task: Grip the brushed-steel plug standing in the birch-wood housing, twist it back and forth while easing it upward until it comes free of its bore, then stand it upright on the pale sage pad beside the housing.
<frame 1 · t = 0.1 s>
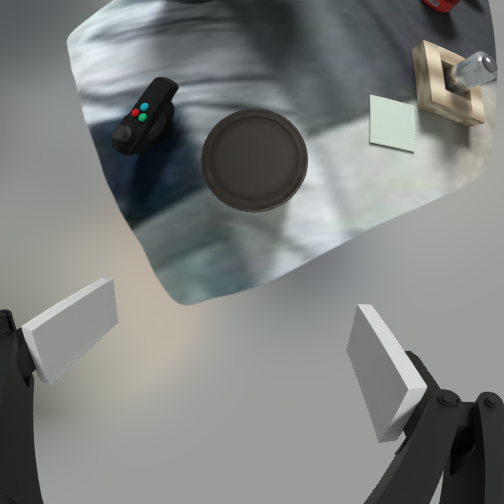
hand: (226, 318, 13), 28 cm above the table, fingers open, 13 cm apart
housing: (442, 87, 31), on the table
controller: (163, 124, 38), on the table
canned food: (432, 1, 26), on the table
pad: (392, 123, 35), on the table
coffee can: (261, 169, 39), on the table
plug: (442, 87, 31), resting in housing
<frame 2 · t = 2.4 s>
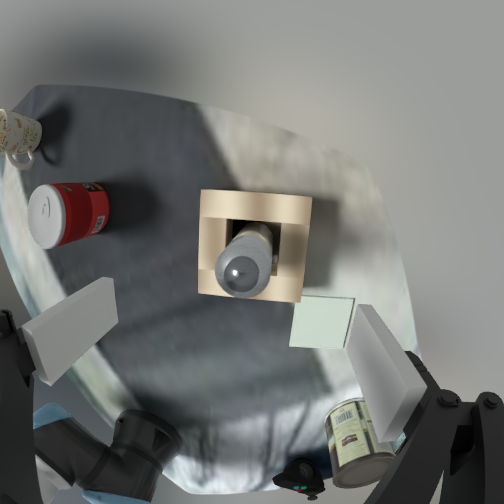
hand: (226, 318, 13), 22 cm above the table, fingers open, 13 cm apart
housing: (255, 239, 35), on the table
mug: (36, 144, 34), on the table
controller: (299, 460, 45), on the table
canned food: (93, 208, 36), on the table
pad: (320, 322, 37), on the table
coffee can: (351, 415, 41), on the table
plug: (255, 239, 35), resting in housing
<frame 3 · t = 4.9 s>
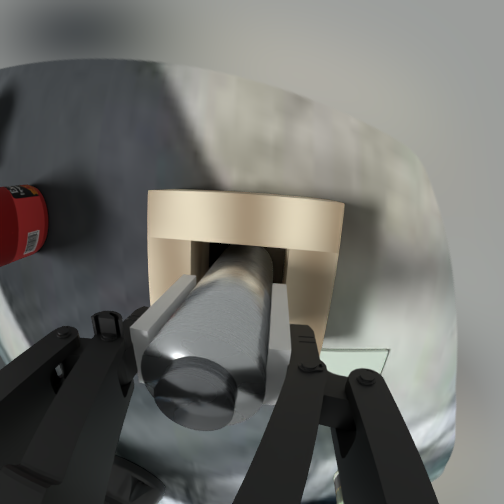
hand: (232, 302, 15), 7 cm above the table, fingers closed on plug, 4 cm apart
housing: (245, 268, 22), on the table
canned food: (32, 218, 23), on the table
pad: (339, 381, 24), on the table
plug: (245, 268, 22), resting in housing, touching gripper
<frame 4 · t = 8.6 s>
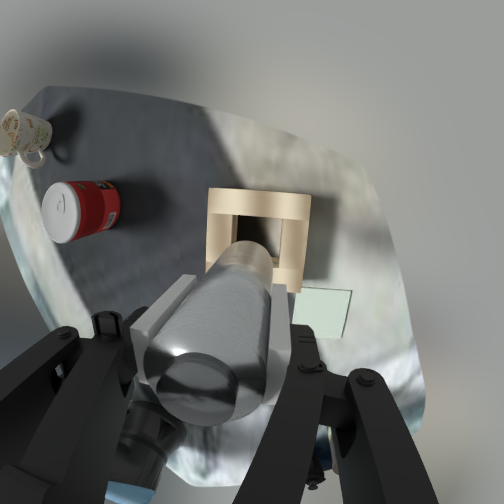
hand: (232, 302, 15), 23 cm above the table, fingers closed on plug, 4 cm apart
housing: (258, 234, 37), on the table
mug: (47, 143, 37), on the table
controller: (300, 450, 48), on the table
canned food: (104, 205, 39), on the table
pad: (320, 313, 39), on the table
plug: (245, 267, 22), point 16 cm above the table, touching gripper
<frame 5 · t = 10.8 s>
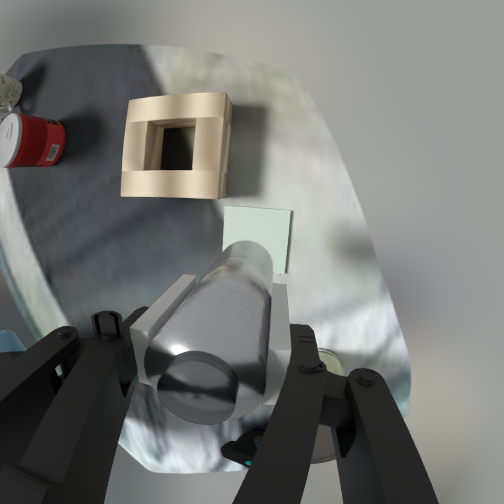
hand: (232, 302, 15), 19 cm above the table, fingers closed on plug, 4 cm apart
housing: (183, 149, 32), on the table
mug: (17, 101, 32), on the table
controller: (257, 431, 43), on the table
canned food: (53, 144, 33), on the table
pad: (255, 239, 34), on the table
coffee can: (310, 373, 38), on the table
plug: (246, 267, 22), point 12 cm above the table, touching gripper
when the fingers open (9 cm above the table, at t = 12.8 s): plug drops 1 cm, resting on pad.
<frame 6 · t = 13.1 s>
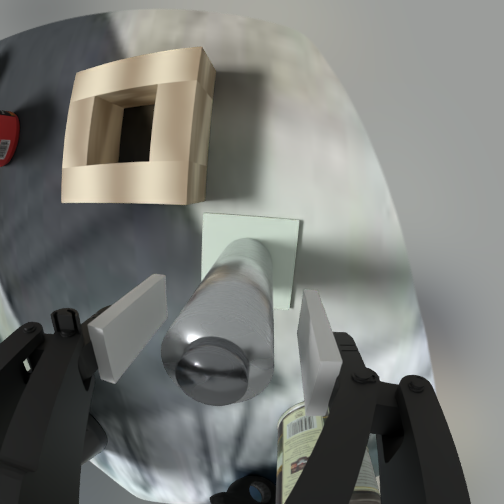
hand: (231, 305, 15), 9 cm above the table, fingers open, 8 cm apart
housing: (147, 134, 22), on the table
controller: (253, 476, 32), on the table
canned food: (8, 139, 23), on the table
pad: (247, 262, 24), on the table
coffee can: (318, 422, 28), on the table
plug: (246, 263, 23), resting on pad
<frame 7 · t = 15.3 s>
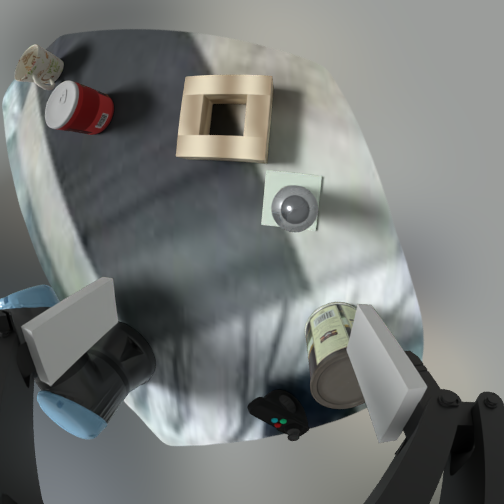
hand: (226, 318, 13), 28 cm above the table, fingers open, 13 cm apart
housing: (230, 122, 37), on the table
mug: (57, 76, 37), on the table
controller: (280, 393, 48), on the table
canned food: (99, 114, 39), on the table
pad: (291, 200, 39), on the table
coffee can: (334, 328, 43), on the table
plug: (290, 200, 38), resting on pad
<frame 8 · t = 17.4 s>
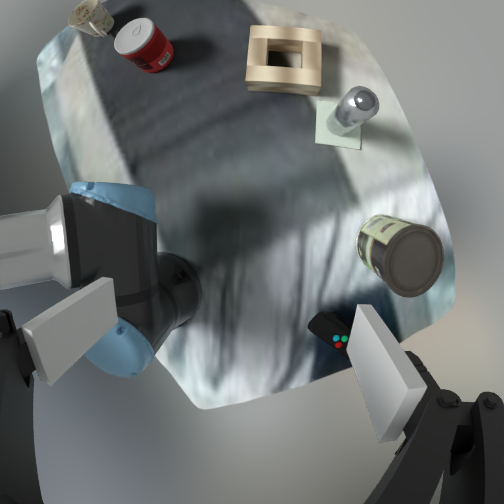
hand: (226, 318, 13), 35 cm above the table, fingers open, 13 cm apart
housing: (284, 64, 40), on the table
mug: (107, 31, 39), on the table
controller: (332, 319, 50), on the table
canned food: (157, 57, 41), on the table
pad: (338, 124, 42), on the table
coffee can: (380, 242, 46), on the table
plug: (338, 124, 41), resting on pad
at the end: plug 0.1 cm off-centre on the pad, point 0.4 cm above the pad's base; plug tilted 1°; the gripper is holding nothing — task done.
